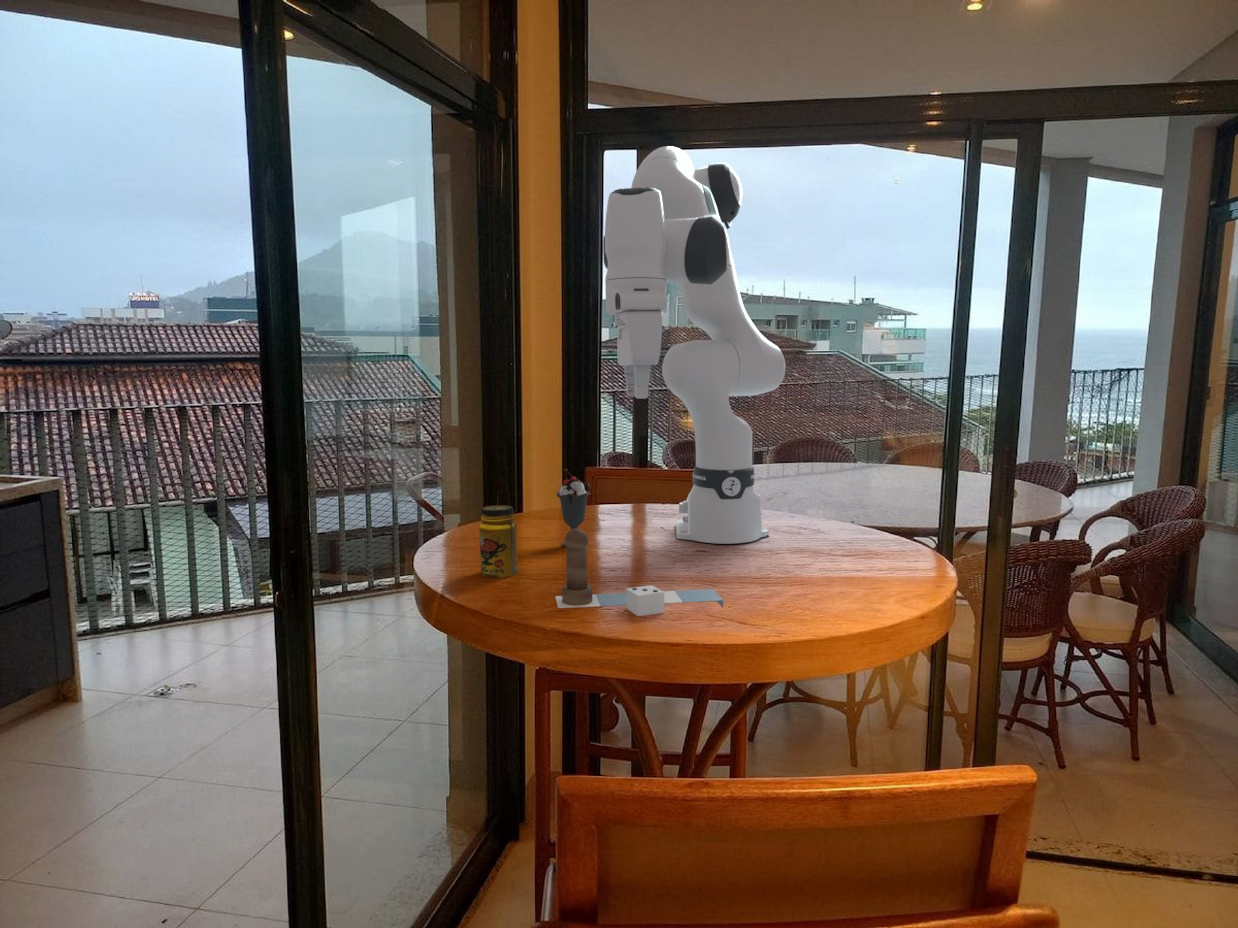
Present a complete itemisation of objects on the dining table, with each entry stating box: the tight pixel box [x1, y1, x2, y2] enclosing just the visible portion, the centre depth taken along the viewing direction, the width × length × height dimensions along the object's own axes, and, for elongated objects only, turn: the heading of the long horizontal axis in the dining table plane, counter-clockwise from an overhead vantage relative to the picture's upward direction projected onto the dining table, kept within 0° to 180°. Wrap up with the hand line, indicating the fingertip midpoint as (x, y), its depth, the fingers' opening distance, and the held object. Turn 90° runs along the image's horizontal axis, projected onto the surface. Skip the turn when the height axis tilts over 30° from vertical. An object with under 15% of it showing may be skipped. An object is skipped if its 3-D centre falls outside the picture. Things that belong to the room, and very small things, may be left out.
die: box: [625, 584, 665, 617], centre depth 120 cm, size 4×4×4 cm
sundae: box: [556, 468, 592, 548], centre depth 165 cm, size 7×7×15 cm
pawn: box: [561, 528, 593, 605], centre depth 124 cm, size 4×4×11 cm
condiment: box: [478, 504, 519, 579], centre depth 142 cm, size 7×8×12 cm
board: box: [555, 588, 724, 609], centre depth 126 cm, size 6×24×1 cm, turn 98°
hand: (637, 397), depth 126 cm, fingers open, 8 cm apart
